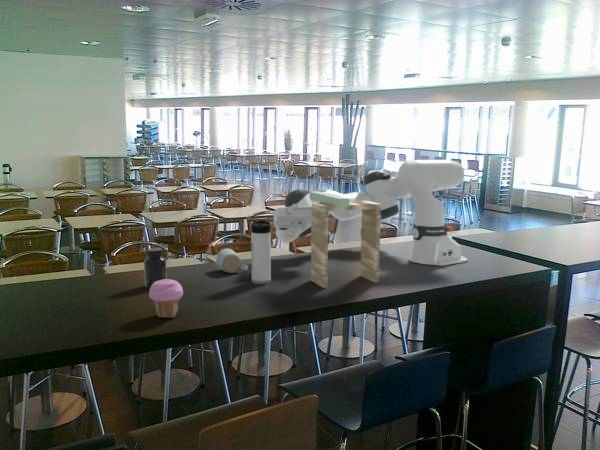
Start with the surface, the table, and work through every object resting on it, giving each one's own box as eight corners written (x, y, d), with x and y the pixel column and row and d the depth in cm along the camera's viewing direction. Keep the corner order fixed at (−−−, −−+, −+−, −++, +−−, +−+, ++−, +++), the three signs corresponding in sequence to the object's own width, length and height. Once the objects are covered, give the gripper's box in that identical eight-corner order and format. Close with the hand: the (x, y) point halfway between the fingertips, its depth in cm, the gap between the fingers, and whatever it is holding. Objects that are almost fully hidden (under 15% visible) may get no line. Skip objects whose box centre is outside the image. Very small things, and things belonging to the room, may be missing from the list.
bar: (318, 198, 191) (318, 191, 191) (349, 206, 169) (349, 198, 169) (309, 198, 190) (309, 191, 190) (339, 207, 168) (339, 198, 168)
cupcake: (181, 321, 142) (180, 283, 141) (147, 321, 142) (145, 283, 140) (185, 310, 151) (184, 274, 150) (153, 311, 150) (152, 275, 149)
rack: (364, 275, 191) (366, 200, 187) (378, 282, 182) (380, 203, 178) (310, 280, 184) (311, 202, 180) (323, 287, 175) (324, 205, 171)
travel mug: (272, 279, 185) (272, 220, 182) (269, 284, 178) (269, 223, 175) (253, 279, 185) (253, 220, 182) (250, 284, 179) (249, 223, 176)
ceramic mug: (222, 275, 190) (222, 253, 189) (215, 269, 198) (215, 248, 197) (251, 272, 195) (251, 251, 194) (244, 267, 202) (244, 247, 201)
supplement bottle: (160, 282, 180) (158, 246, 178) (171, 286, 175) (170, 249, 173) (140, 286, 175) (139, 249, 173) (151, 290, 170) (150, 252, 169)
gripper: (323, 226, 209) (337, 212, 197) (271, 229, 202) (282, 214, 190) (320, 211, 211) (333, 196, 199) (269, 213, 204) (279, 198, 192)
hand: (308, 205), depth 194 cm, fingers open, 8 cm apart
